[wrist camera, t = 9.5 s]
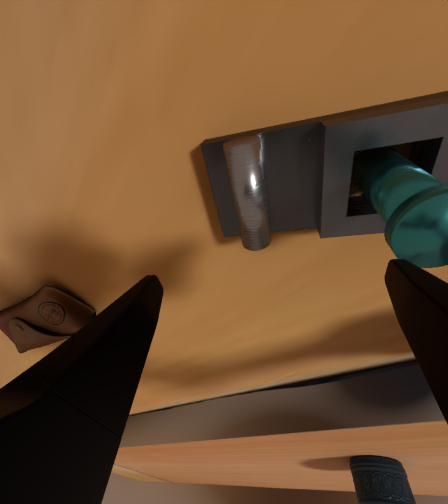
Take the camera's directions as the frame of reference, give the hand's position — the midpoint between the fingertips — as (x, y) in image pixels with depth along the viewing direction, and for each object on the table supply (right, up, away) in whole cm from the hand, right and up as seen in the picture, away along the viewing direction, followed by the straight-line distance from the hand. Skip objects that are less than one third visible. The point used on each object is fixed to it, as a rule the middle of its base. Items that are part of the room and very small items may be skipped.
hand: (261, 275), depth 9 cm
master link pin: (+10, +7, +8) cm, 15 cm away
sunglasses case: (-30, -7, +27) cm, 41 cm away
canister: (+39, -55, +54) cm, 87 cm away
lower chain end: (+6, +7, +9) cm, 13 cm away
